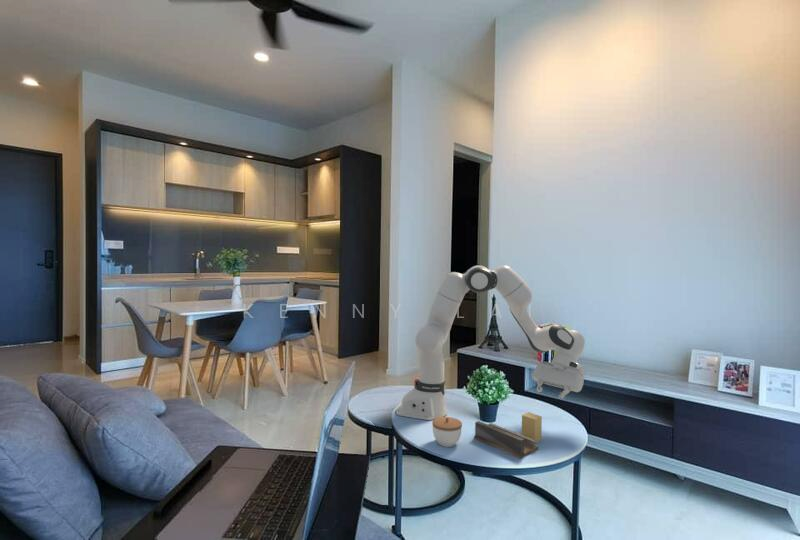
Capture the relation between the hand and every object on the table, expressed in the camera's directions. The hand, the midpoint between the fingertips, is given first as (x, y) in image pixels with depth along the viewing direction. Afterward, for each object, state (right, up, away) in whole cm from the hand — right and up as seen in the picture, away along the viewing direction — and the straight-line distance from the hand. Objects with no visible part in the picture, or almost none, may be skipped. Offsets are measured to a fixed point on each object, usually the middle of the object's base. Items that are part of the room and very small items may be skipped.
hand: (549, 394), depth 159 cm
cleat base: (-20, -15, -11) cm, 28 cm away
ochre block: (-9, -15, -7) cm, 19 cm away
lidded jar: (-42, -15, -11) cm, 46 cm away
